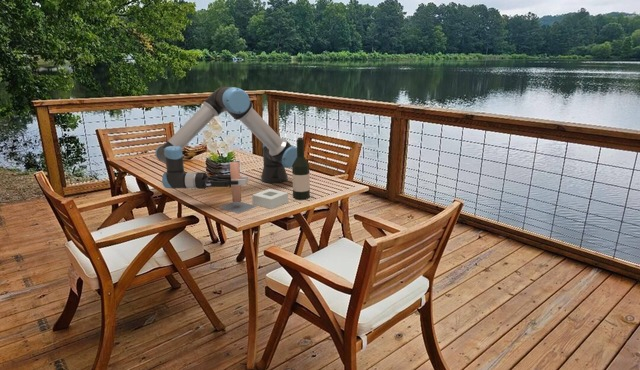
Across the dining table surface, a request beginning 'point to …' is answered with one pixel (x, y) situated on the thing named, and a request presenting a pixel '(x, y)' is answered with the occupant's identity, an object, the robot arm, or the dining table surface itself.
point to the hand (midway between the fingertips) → (247, 180)
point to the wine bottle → (301, 174)
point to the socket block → (270, 198)
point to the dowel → (235, 175)
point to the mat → (237, 207)
